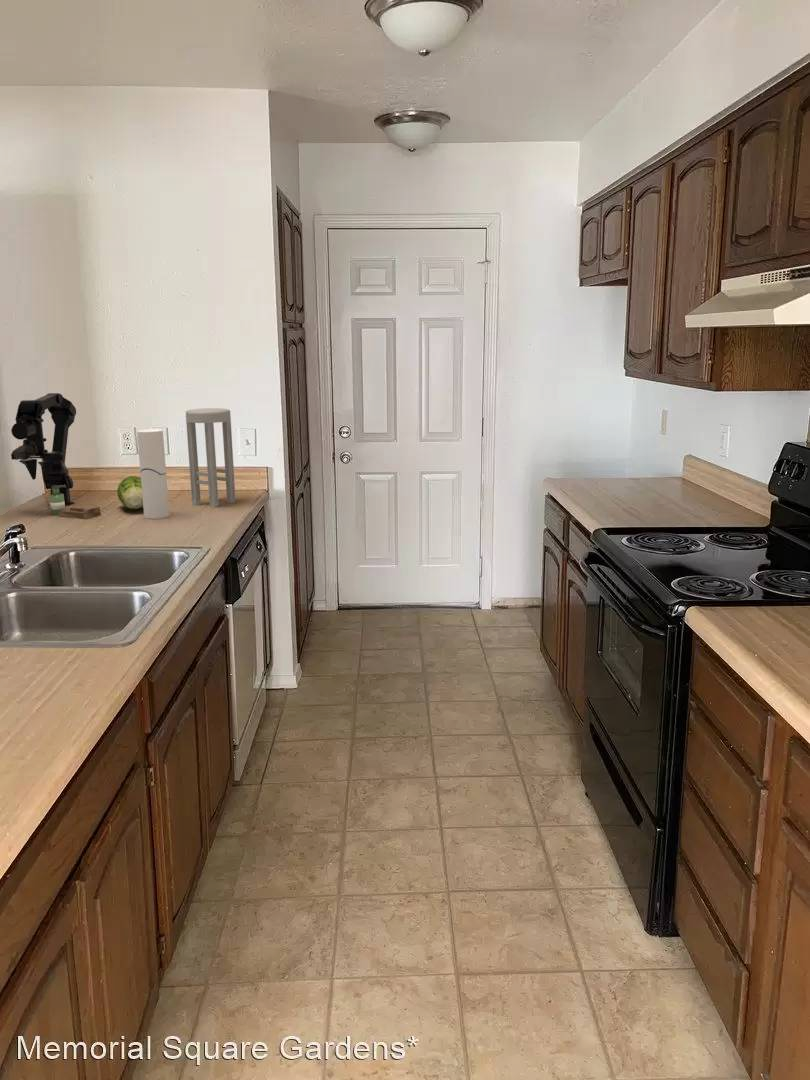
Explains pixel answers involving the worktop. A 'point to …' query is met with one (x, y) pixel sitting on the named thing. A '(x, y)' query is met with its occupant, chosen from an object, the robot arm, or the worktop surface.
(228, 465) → the stool
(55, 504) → the bottle
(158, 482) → the container
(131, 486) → the lettuce
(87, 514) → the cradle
